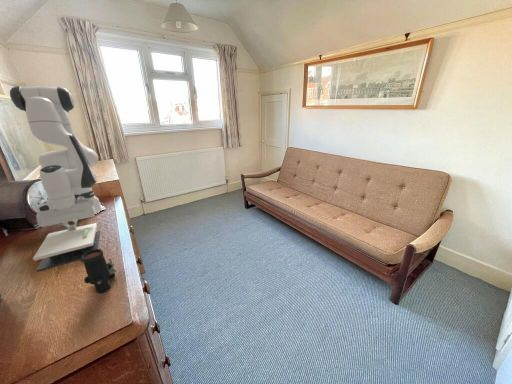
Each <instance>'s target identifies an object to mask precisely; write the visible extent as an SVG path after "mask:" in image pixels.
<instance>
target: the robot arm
mask: <svg viewBox="0 0 512 384" xmlns="http://www.w3.org/2000/svg"><path fill="white" fill-rule="evenodd" d="M9 97H10V100H11V102H12V104H14V106H15V107H16V108H17V109H19V110H20V111H24V112H25V113H26V114H25V115H26V119H27V124H28V126H29V129H30V132H31V133H32V135H33V137H35V138H36V139H38V140H39V141H41V142H44V143H47V144H50V145H56V146H59V147H60V146H61V147H63V148H65V149H63V150H61V149H60V150H50V151H46V152H42V153H41V154H40V155H39V157H38V164H39V166H41V168H40V170H39V176H40V181H41V185H42V187H43V189H44V192H46V195H47V200H46V201H43V202H41V203H39V204H38V205H37V206H36V208H35V210H36V212H37V213H36V215H35V217H36V222H37V224H38V226H39V227H41V228H45V227H50V226H54V225H58V224H59V225H60V224H62V226H64V227H65V228H66V229H68V230H74V229H77V227H78V226H77V224H78V220H79V221H80V220H83V219H87V218H92V217H95V214H96V215H98V214H100V213H101V212H100V211H102V210H104V209H106V210H107V208H106V207H105V205H104V206H102V205H101V203H102V202H100V200H99V198H98V197H97V196H96V195H95V191H94V189H93V188H92V187H93V186H95V185H96V183H97V182H98V181H97V180H98V179H97V176H96V173H95V171H94V170H93V169H92V167H93V166H97V164H98V163H99V155H98V153H97V152H96V151H95V150H94V149H92V148H90V147H88V146H86V145H85V144H83V143H82V142H81V141H80V140H79V139H78V137H77V135H76V132H75V130H74V127H73V125H72V122H71V118H70V116H69V115H68V113H70V111H73V109H74V108H75V104H76V102H75V98H74V95H73V94H72V93H71V91H70V90H69V89H67V87H66V88H65V87H62V86H57V87H56V86H46V85H39V86H36V85H35V86H34V85H33V86H31V85H30V86H22V85H19V86H13V87H11V88H10V90H9ZM104 211H105V210H104ZM99 212H100V213H99ZM102 212H103V211H102ZM97 213H98V214H97ZM69 222H72V223H74V224H71V225H70V224H69Z"/></svg>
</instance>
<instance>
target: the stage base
mask: <svg viewBox="0 0 512 384" xmlns="http://www.w3.org/2000/svg"><path fill="white" fill-rule="evenodd" d="M100 234H102V232H101V230H99V231H96V233H95V238H94V242H93V246H89V247H85V248H81V249H77V250H74V251H70V252H66V253H62V254H58V255H55V256H51V257H47V258H43V259H40V262H39V265H38V266H37V268H36V270H35V272H36V273H39V272H43V271H46V270H51V269H53V268H56V267H60V266H64V265H67V264H71V263H74V262H78V261H82V256H83V255H84V254H85V253H87V252H89V251H91V250H95V249H99V248H100V247H99V246H100V240H101V235H100Z"/></svg>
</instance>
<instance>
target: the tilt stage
mask: <svg viewBox="0 0 512 384" xmlns="http://www.w3.org/2000/svg"><path fill="white" fill-rule="evenodd" d="M97 226H98V223H97V222H94V223H90V224H85V225H80V226H77V229H74V230H68V228H66V229H63V230H62V229H61V230H59V231H53V232H49V233H47V235H46V236H45V238H44V240H43V242H42V243H41V245H40V247H39V248H38V250H37V251H36V253H35V254H34V256H33V257H32V260H33V261H34V262H35V261H38V260H42V259H43V258H47V257H51V256H55V255H58V254H62V253H66V252H70V251H74V250H77V249H81V248H85V247H89V246H93V242H94V238H95V233H96V232H97Z"/></svg>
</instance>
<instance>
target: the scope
mask: <svg viewBox="0 0 512 384" xmlns="http://www.w3.org/2000/svg"><path fill="white" fill-rule="evenodd" d="M108 260H109V262H107V261H106V258H105V255H104V252H103V249H99V248H98V249H95V250H91V251H89V252H87V253H85V254H84V255H83V256H82V260H81V261H82V262H83V265H84V267H85V268H84V269H85V271H86V276H85V277H84V278H83V281H84V283H85V284H90V285H94V289H95V291H96V293H97V294H104V293H107V291H109V290H110V289H111V288H112V285H111V281H110V280H111V279H113V278H115V277H116V272H117V268H116V266H115V262H113V260H112V257H108Z"/></svg>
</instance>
